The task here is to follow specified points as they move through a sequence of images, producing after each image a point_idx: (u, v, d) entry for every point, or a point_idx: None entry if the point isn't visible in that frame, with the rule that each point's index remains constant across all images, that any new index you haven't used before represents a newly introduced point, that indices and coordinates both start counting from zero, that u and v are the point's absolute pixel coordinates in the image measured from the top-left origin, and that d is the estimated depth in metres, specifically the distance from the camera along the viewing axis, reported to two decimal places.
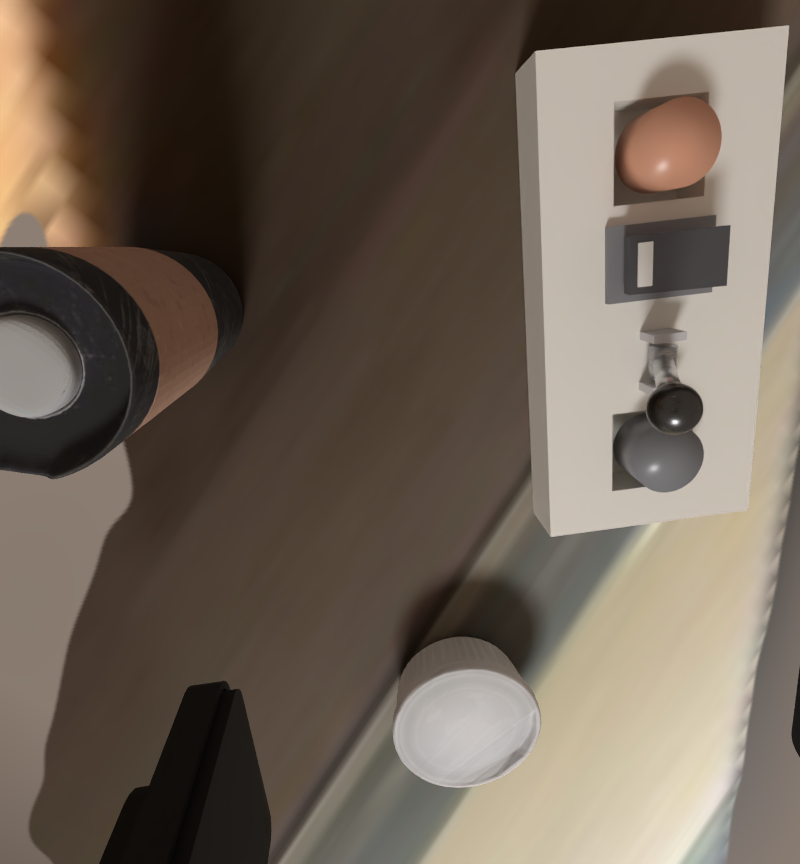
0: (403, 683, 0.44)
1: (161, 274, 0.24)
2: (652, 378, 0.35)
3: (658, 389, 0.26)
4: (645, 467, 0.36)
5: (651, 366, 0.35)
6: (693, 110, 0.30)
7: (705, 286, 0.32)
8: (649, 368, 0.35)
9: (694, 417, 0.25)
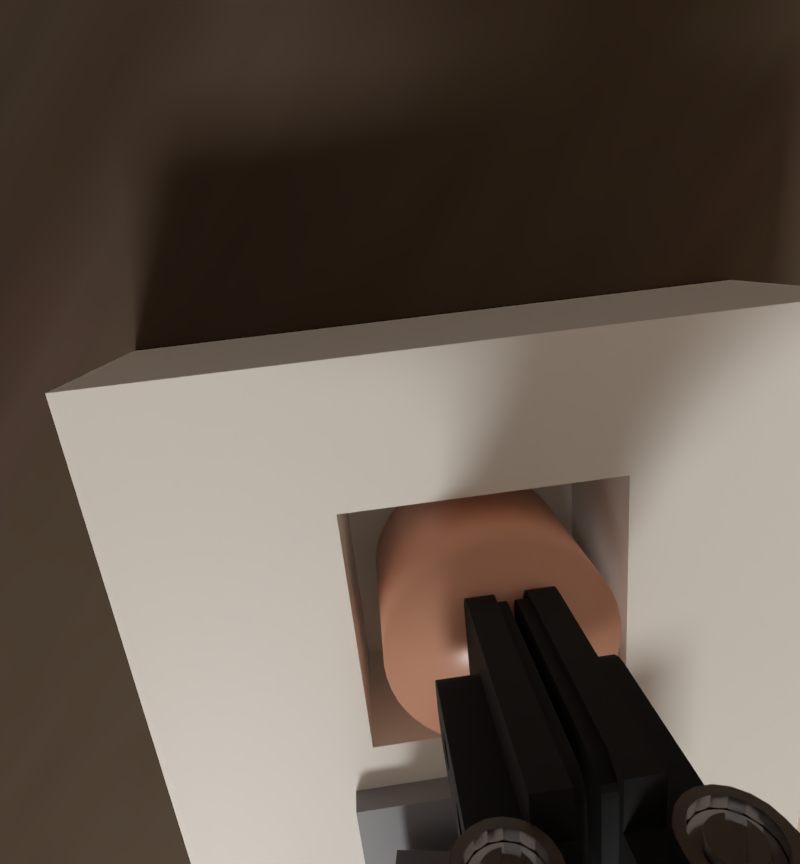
0: None
1: None
2: None
3: None
4: None
5: None
6: (532, 572, 0.10)
7: None
8: None
9: None
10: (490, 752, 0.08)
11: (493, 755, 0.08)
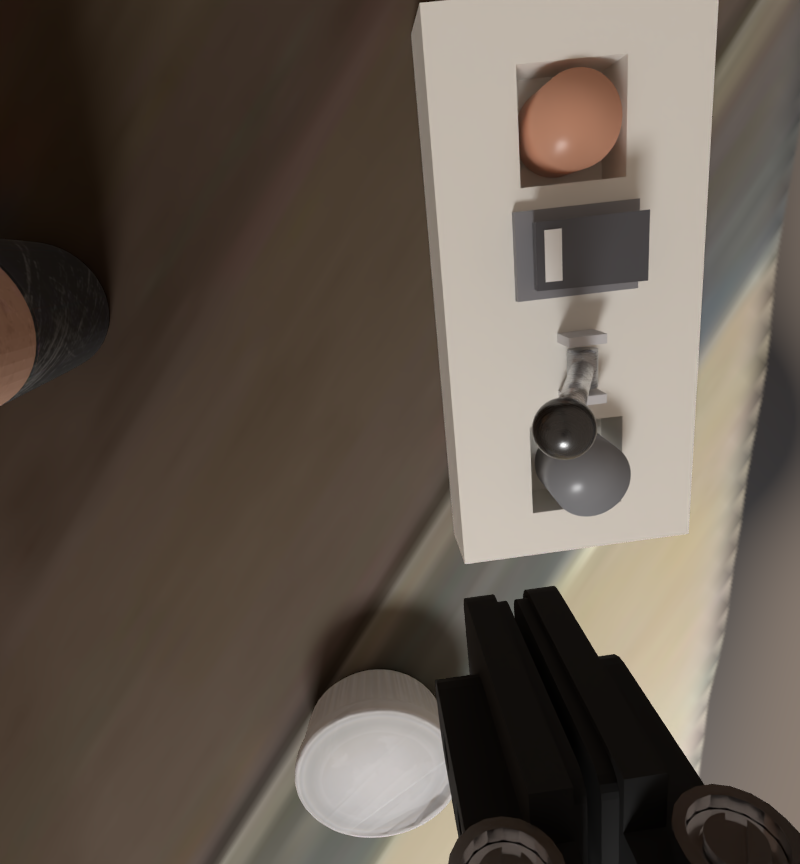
0: (310, 722, 0.40)
1: None
2: None
3: (544, 405, 0.22)
4: (564, 488, 0.32)
5: None
6: (589, 83, 0.27)
7: (623, 281, 0.28)
8: (567, 375, 0.31)
9: (583, 440, 0.21)
10: (490, 752, 0.08)
11: (493, 755, 0.08)
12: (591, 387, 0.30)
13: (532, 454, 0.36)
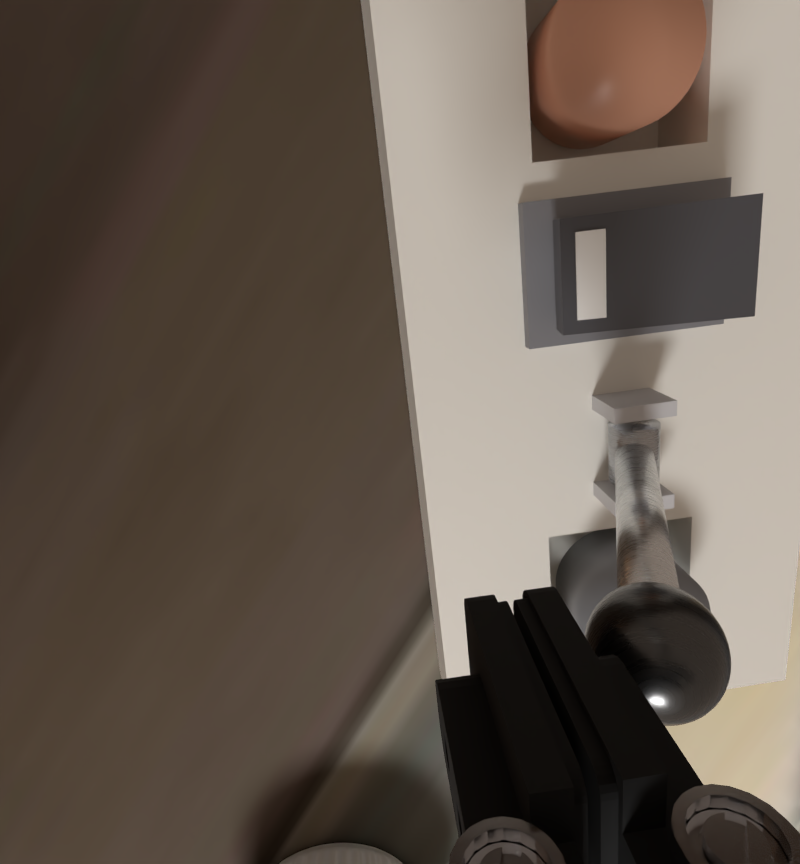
0: None
1: None
2: (615, 482, 0.19)
3: (613, 605, 0.10)
4: None
5: (613, 461, 0.19)
6: None
7: (712, 318, 0.16)
8: (610, 463, 0.19)
9: (709, 701, 0.09)
10: (490, 752, 0.08)
11: (493, 755, 0.08)
12: None
13: (550, 560, 0.25)
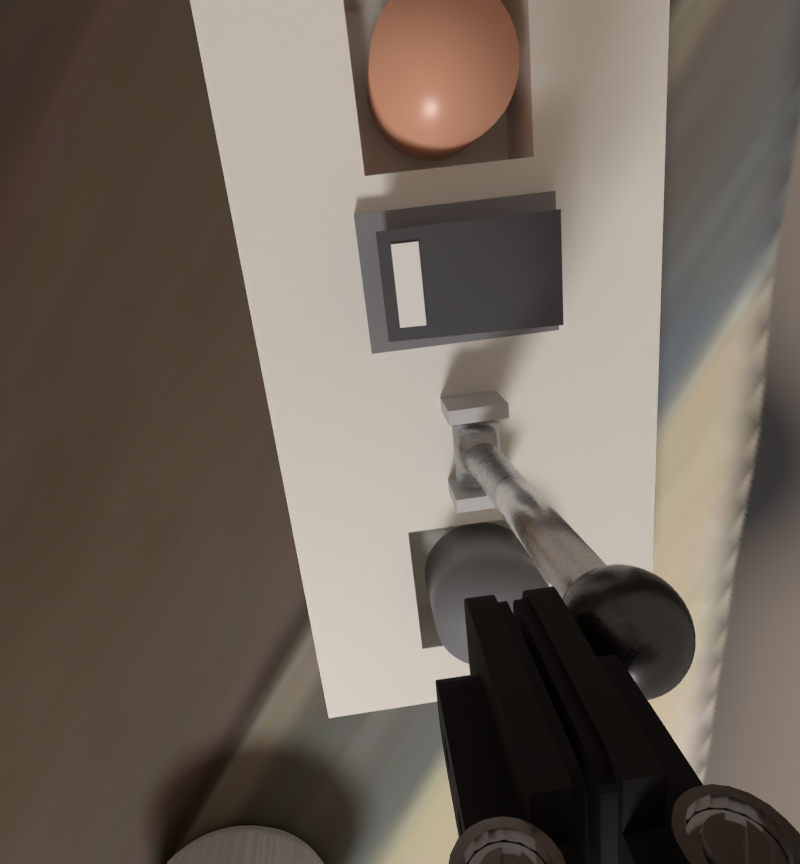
0: None
1: None
2: (467, 483, 0.20)
3: (591, 597, 0.10)
4: (454, 629, 0.21)
5: (462, 463, 0.20)
6: None
7: (524, 326, 0.17)
8: (458, 466, 0.20)
9: (691, 661, 0.10)
10: (490, 752, 0.08)
11: (493, 755, 0.08)
12: None
13: None
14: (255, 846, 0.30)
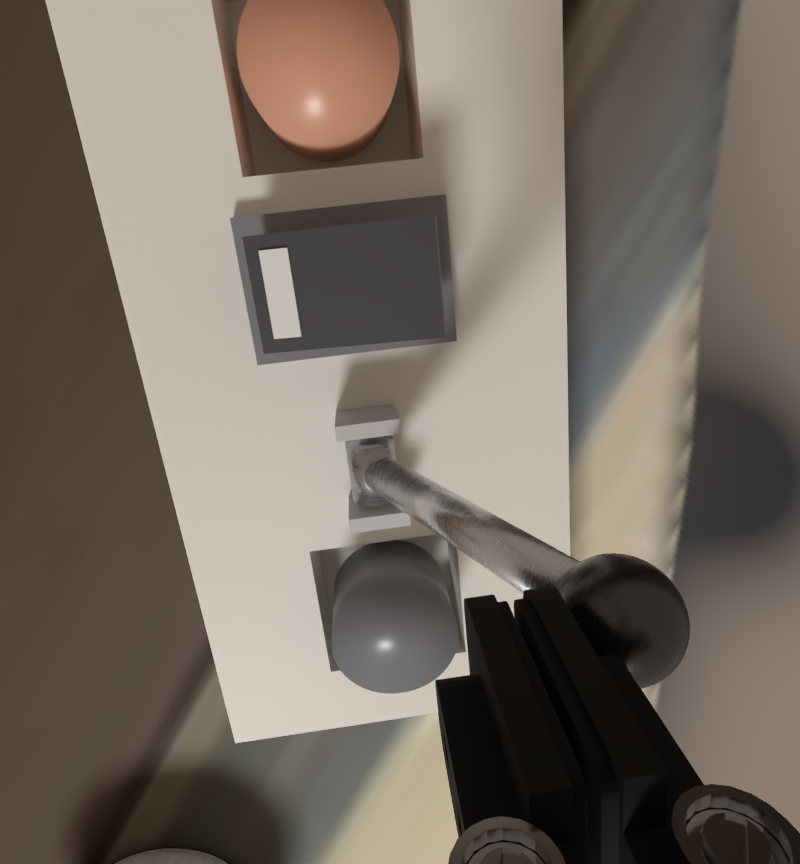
0: None
1: None
2: (368, 503, 0.19)
3: (597, 591, 0.10)
4: (352, 655, 0.20)
5: (362, 482, 0.18)
6: None
7: (403, 338, 0.16)
8: (357, 486, 0.19)
9: None
10: (490, 752, 0.08)
11: (493, 755, 0.08)
12: None
13: None
14: None
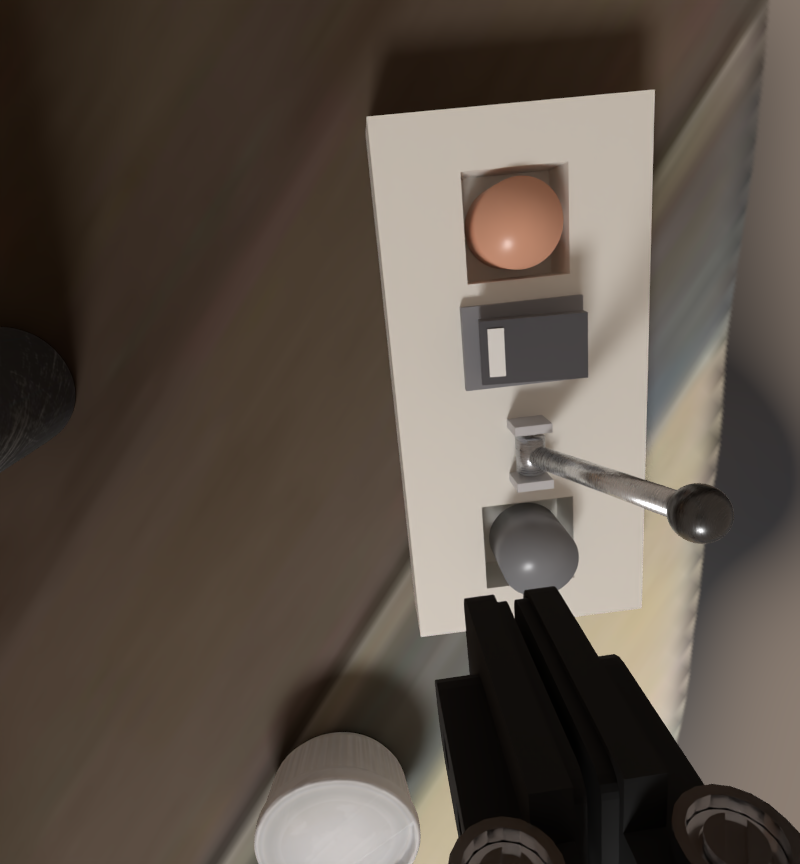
0: (272, 786, 0.40)
1: None
2: (529, 474, 0.31)
3: (692, 496, 0.22)
4: (513, 569, 0.32)
5: (527, 461, 0.31)
6: (530, 190, 0.28)
7: (564, 377, 0.29)
8: (523, 463, 0.31)
9: None
10: (490, 752, 0.08)
11: (493, 755, 0.08)
12: None
13: (489, 527, 0.37)
14: (354, 743, 0.41)
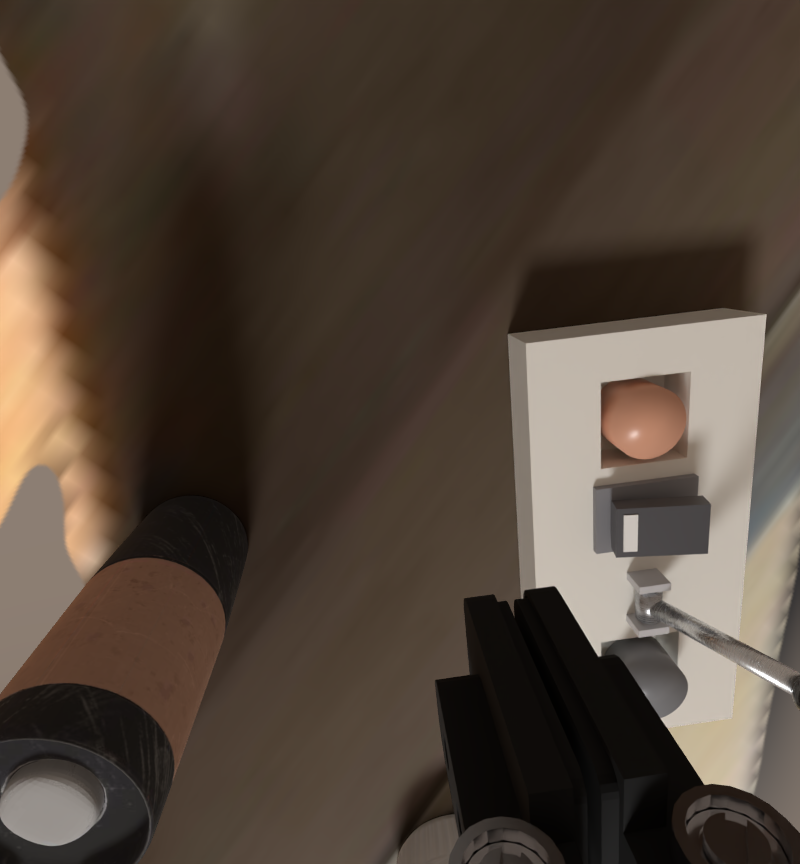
0: None
1: (173, 624, 0.26)
2: (649, 622, 0.37)
3: None
4: None
5: (647, 612, 0.36)
6: (660, 398, 0.33)
7: (687, 553, 0.34)
8: (643, 614, 0.37)
9: None
10: (490, 752, 0.08)
11: (493, 755, 0.08)
12: None
13: None
14: None
